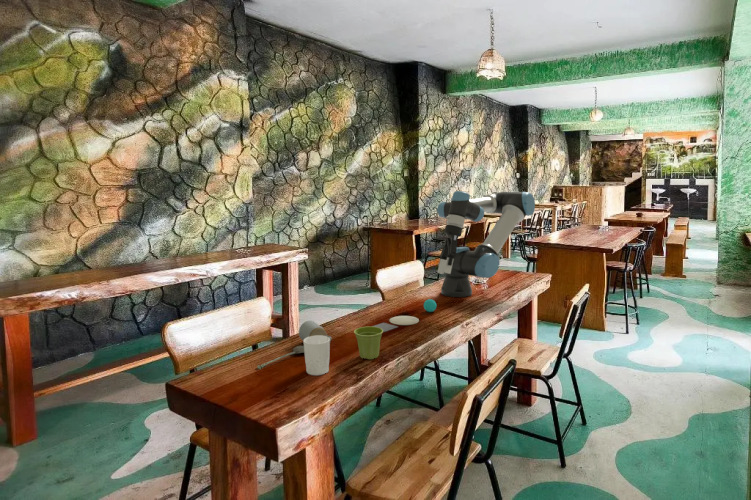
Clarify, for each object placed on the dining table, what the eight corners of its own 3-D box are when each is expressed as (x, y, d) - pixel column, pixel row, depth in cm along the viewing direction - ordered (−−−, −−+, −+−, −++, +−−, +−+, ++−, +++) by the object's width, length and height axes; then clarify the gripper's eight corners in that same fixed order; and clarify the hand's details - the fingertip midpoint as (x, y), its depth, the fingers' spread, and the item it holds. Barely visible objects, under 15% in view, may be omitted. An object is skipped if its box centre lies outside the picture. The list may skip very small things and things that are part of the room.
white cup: (305, 366, 148) (304, 335, 146) (330, 365, 149) (329, 334, 147) (303, 377, 140) (302, 344, 139) (330, 375, 141) (329, 343, 139)
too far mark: (383, 323, 191) (383, 322, 191) (398, 327, 185) (398, 326, 185) (369, 327, 185) (369, 327, 185) (384, 332, 179) (384, 331, 179)
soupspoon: (318, 354, 161) (306, 351, 166) (318, 344, 161) (305, 341, 165) (264, 372, 145) (252, 368, 149) (264, 361, 145) (251, 357, 149)
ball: (429, 309, 209) (429, 297, 208) (439, 311, 205) (439, 299, 205) (421, 311, 205) (421, 299, 205) (431, 314, 202) (431, 301, 201)
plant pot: (362, 363, 149) (362, 337, 148) (350, 354, 158) (349, 329, 156) (388, 358, 154) (388, 332, 152) (375, 349, 162) (374, 324, 161)
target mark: (402, 314, 202) (402, 314, 202) (425, 320, 194) (425, 319, 194) (383, 320, 193) (383, 320, 193) (405, 327, 185) (405, 326, 185)
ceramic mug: (309, 349, 163) (309, 327, 162) (298, 343, 169) (298, 322, 168) (336, 343, 169) (335, 322, 168) (324, 337, 175) (324, 317, 174)
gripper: (440, 227, 221) (429, 271, 219) (452, 220, 196) (441, 270, 194) (455, 231, 221) (445, 275, 219) (470, 225, 196) (459, 275, 195)
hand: (443, 273), depth 207 cm, fingers open, 13 cm apart
